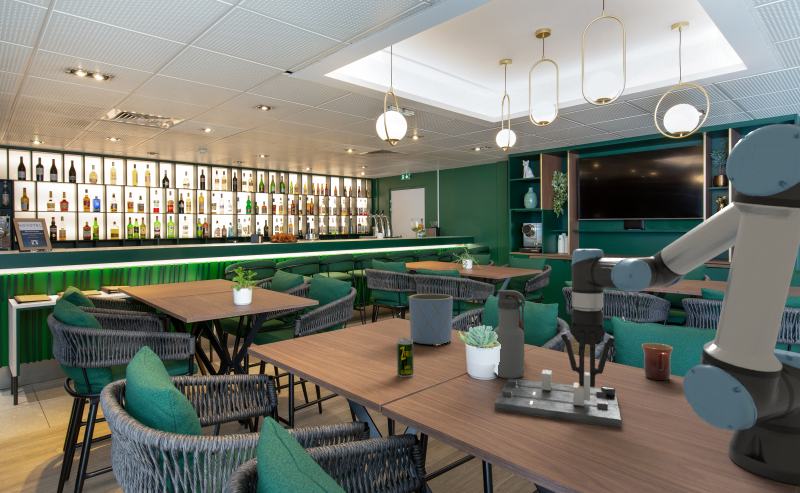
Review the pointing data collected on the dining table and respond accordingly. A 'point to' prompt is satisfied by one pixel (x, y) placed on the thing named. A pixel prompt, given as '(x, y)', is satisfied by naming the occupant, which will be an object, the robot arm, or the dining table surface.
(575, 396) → the block
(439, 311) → the planter
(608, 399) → the console board
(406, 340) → the beer can
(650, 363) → the mug
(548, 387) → the fader
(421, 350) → the dining table surface
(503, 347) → the water bottle
